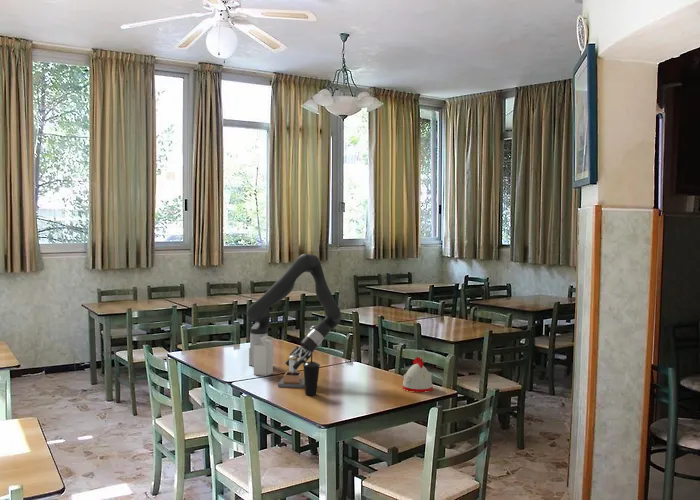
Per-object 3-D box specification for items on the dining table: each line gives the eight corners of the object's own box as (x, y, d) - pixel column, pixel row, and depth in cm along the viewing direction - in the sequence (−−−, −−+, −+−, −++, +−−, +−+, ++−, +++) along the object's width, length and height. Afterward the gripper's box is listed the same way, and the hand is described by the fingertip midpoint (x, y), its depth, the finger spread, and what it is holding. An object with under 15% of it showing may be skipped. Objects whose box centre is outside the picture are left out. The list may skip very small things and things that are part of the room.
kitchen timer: (412, 394, 285) (413, 361, 285) (397, 386, 298) (398, 355, 297) (438, 391, 291) (438, 359, 291) (422, 384, 304) (423, 353, 303)
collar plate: (277, 386, 293) (278, 376, 292) (282, 380, 305) (282, 370, 304) (303, 387, 292) (303, 377, 292) (306, 381, 304) (307, 371, 304)
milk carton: (253, 374, 315) (254, 337, 315) (260, 371, 322) (261, 335, 321) (265, 376, 313) (266, 338, 312) (272, 373, 319) (273, 336, 319)
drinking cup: (312, 397, 275) (313, 352, 275) (298, 395, 279) (299, 350, 279) (322, 394, 282) (323, 350, 281) (309, 391, 286) (309, 348, 285)
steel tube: (287, 381, 296) (288, 356, 296) (289, 379, 301) (289, 354, 300) (296, 382, 296) (297, 357, 296) (297, 380, 300) (298, 355, 300)
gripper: (301, 333, 307) (279, 358, 302) (314, 338, 295) (291, 364, 290) (310, 343, 310) (289, 368, 305) (324, 348, 298) (301, 374, 293)
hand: (290, 366), depth 297 cm, fingers open, 8 cm apart
